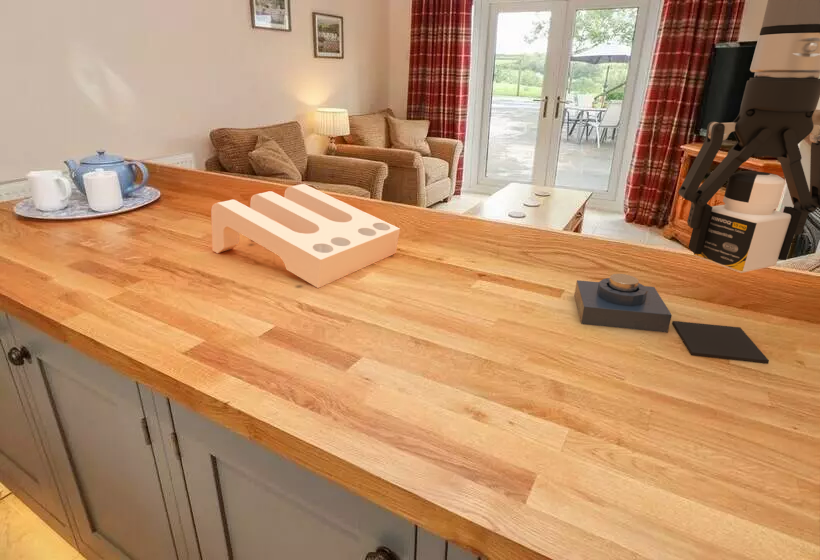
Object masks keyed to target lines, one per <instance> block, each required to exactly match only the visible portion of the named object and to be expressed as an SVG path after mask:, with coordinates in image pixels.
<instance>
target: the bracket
mask: <svg viewBox="0 0 820 560" xmlns="http://www.w3.org/2000/svg"><path fill="white" fill-rule="evenodd" d="M249 204H250V205H249V206H247V205H246V204H244V203H242V202H240V201H238V200H237V199H229V200H223V201H219V202H215V203H213V204H212V206H211V210H210V215H211V217H210V218H211V251H213V252H214V253H216V254H220V253H223V252H226V251H229V250H233V249H235V248H236V247H237V246H238V245H239V244H240V235H242V236H243V237H246V238H247V239H249V240H250V241H252V242H254V243H256V244H257V245H259V246H261V247H263V248H264V249H266V250H268V251H270V252H272V253H273V254H275V255H277V256H278V257H279V258H280V259H281V261H282V262H283V264H284V266H285V269H286V270H287V271H288V272H289V273H292V274H293V275H295V276H297V277H298V278H300V279H302V281H305V282H307V283H308V284H310V285H312V286H313V287H315V288H317V289H319V288H322V287H324V286H327V285H328V284H330V283H333V282H335V281H338V280H339V279H342V278H344V277H346V276H348V275H351V274H353V273H355V272H357V271H359V270H361V269H364V268H366V267H369V266H370V265H373V264H375V263H377V262H379V261H381V260H383V259H384V260H385V259H386V258H388V257H390V256H393V255H395V254H396V253H397V250H398V244H399V238H400V232H401V228H400V227H398V226H396V225H394V224H391V223H389V222H387V221H385V220H383V219H380V218H378V217H377V216H374V215H372V214H371V213H368V212H365V211H363V210H361V209H359V208H357V207H355V206H352V205H351V204H349V203H347V202H344V201H342V200H340V199H338V198H336V197H333V196H331V195H329V194H327V193H325V192H323V191H320V190H318V189H316V188H314V187H311V186H309V185H307V184H306V183H301V184H296V185H291V186H288V187H286V188H285V190H284V196H282V195H281V194H278V193H276V192H274V191H272V190H269V191H265V192H259V193H255V194H253V195H252V196H251V197H250V202H249Z"/></svg>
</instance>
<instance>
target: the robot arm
mask: <svg viewBox="0 0 820 560" xmlns="http://www.w3.org/2000/svg"><path fill="white" fill-rule="evenodd" d="M749 71H750V72H751V73H754V75H753V77H749V80H747V81H746V84H745V87H744V91H743V95H742V100H741V102H740V103H741V104H740V108H739V113H738V115H737V117H736V118H735V119H734V120H733V121H731V122H717V121H710V122H709V123H708V124H707V126H706V133H705V139H704V141H703V144H702V146H701V147H700V149H699V150H698V153H697V155H696V157H695V159H694V161H693V162H692V164H691V166H690V168H689V170H688V172H687V174H686V176H685V178H684V179H683V181H682V183H681V186H680V187H679V189H678V192H677V193H678V195H679V196H680V198H683V199H684V200H685V201H689V202H690V208H689V213H688V216H687V221H686V224H687V226H688V227H689V228H690V229H692V231H691V235H690V239H689V242H688V245H687V247H688V249H689V250H690V251H691V252H692V253H693V255H694V254H701V251H702V247H703V243H704V239H705V235H706V231H707V227H708V223H709V219H710V215H711V211H712V208H713V207H712V205H710V204H709V201H710V200H711V199H712V198H714V196H715V195H716V194H717V193H718V191H720V189H721V188H722V187H723V186H724V185H725V183H727V182H728V179H729V178H730V177H731V176H732V174H733V173H736V172H737V170H739V168H740V167H741V166H742V164H744V163H745V162H747V161H748V160H749V159H750V158H751V157H756V158H757V157H758V158H761V157H765V156H769V157H771V158H777V160H778V161H779V163H780V166H781V170H782V173H783V176H784V180H785V184H786V186H787V189H788V193H789V196H790V199H791V202H792V206H793V207H792V206H788V205H787V206H784V208H783V211H782V212H783V213H787V214H790V215H791V220H790V223H789V226H788V229H787V233H786V236H785V239H784V242H783V245H782V248H781V251H780V254H779V257H778V260H780V261H787V259H788V256H789V253H790V251H791V247H792V243H793V241H794V238H795V235H797V236H798V235H801V234H802V233H803V231H804V229H805V226H806V222H807V220H808V217H809V214H813V213H814V212H816V211H817V209H818V208H820V124H814V121H813V116H814V113H815V111H816V109H817V107H818V104H819V100H820V0H767V3H766V7H765V10H764V16H763V20H762V26H761V28H760V32H759V35H758V38H757V43H756V45H755V49H754V53H753V57H752V61H751V64H750V68H749ZM731 133H732V134H733V135H734V137H735V139H736V142H735V143H734V144H733V145H732V146H731V148H730V149H729V150H728V151H727V155H726V156H725V157H724V158H723V159H722V160H721V161H720V162H719V164H718V165H717V166H716V167H715V168H714V170H712V172H711V173H710V174H709V175H708V176H707V178H706V179H705V180H704V178H705V177H706V175H707V173H708V172H709V169H710V168H711V166H712V164H713V162H714V160H715V158H716V156H717V155H718V153H719V151H720V149H721V147H722V144H723V141H726V140H727V139H728V138H729V136H730V134H731ZM808 136H809V141H810V142H811V144H810V161H809V162H810V165H809V166H810V168H809V185H808V181H807V178H806V174H805V171H804V168H803V167H804V166H803V164H802V157H803V156H802V153H801V149H800V147H799V144H800V143H802V142H803V141H804V140H805V139H806V138H807V137H808Z"/></svg>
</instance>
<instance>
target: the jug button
mask: <svg viewBox="0 0 820 560" xmlns="http://www.w3.org/2000/svg"><path fill="white" fill-rule="evenodd" d="M609 278H610V280H609V285H608V287H609V288H611V289H613V290H616V291H619V292H626V293H632V292H636V291H637V288H638V283H640V280H639V279H638V277H635V276H633V275H630V274H626V273H613V274H611V275H609Z"/></svg>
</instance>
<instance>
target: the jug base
mask: <svg viewBox="0 0 820 560" xmlns="http://www.w3.org/2000/svg"><path fill="white" fill-rule="evenodd" d="M609 280H610V277H607V278H602V279H601V280H600V281H592V280H591V281H590V280H577V279H576V282H575V287H574V300H575V304H576V309H577V313H578V316H579V320H580V324H581V325H588V326H598V327H606V328H607V327H608V328H617V329H627V330H635V331H636V330H637V331H646V332H655V333H656V332H657V333H665V334H667V333H668V332H669V328H670V325H671V321H672V316H673V314H672V313H671V311H670V309H669V308H668V306H667V305H666V303H665V301H664V300H663V299H662V297H661V295H660V293H659V292H658V291H657V289H656V288H655V286H647V285H643V284H641V283H640V282H639V283H638V288H637V291H636V292H632V293H626V292H619V291H616V290H613V289H611V288H609V287H608V285H609Z"/></svg>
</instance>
